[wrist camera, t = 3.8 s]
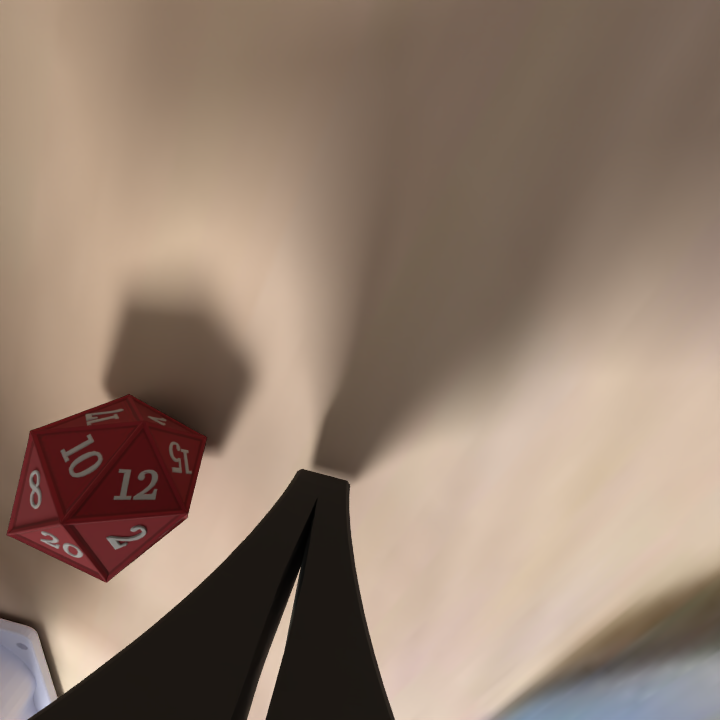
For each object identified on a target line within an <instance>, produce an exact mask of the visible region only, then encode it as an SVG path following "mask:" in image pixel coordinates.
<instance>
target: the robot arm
mask: <svg viewBox="0 0 720 720" xmlns="http://www.w3.org/2000/svg"><path fill="white" fill-rule="evenodd" d="M349 491H350V484H349V483H348V481H346V480H342V479H338V478H335V477H331V476H327V475H323V474H319V473H316V472H312V471H308V470H304V469H301V470H299V471H297V473H296V475H295V476H294V478H293V480H292V481H291V483H290V484H289V486H288V487H287V489H286V490H285V492H284V493H283V494H282V496H281V497H280V498H279V500H278V501H277V502H276V503H275V505H274V506H273V507H272V509H271V510H270V511H269V512H268V513H267V514H266V516H265V517H264V518H263V519H262V520H261V522H260V523H259V524H258V525H257V526H256V527H255V529H254V530H253V531H252V532H251V533H250V534H249V535H248V536H247V537H246V539H245V540H244V541H243V542H242V543H241V544H240V545H239V546H238V547H237V548H236V549H235V550H234V551H233V552H232V553H231V554H230V555H229V556H228V558H227V559H226V560H225V561H224V562H223V563H222V564H221V565H220V566H219V567H218V568H217V569H216V570H215V571H214V572H212V573H211V574H210V575H209V576H208V577H207V578H206V579H205V580H204V581H203V582H202V583H201V584H200V585H199V586H198V587H197V588H195V589H194V590H193V591H192V592H191V593H190V594H189V595H188V596H187V597H186V598H184V599H183V600H182V601H181V602H180V603H179V604H178V605H176V606H175V607H174V608H173V609H172V610H171V611H169V612H168V613H167V614H166V615H165V616H164V617H162V618H161V619H160V620H159V621H158V622H157V623H155V624H154V625H153V626H152V627H151V628H149V629H148V630H147V631H146V632H145V633H143V634H142V635H141V636H140V637H138V638H137V639H136V640H135V641H133V642H132V643H131V644H129V645H128V646H127V647H126V648H124V649H123V650H122V651H120V652H119V653H118V654H116V655H115V656H114V657H112V658H111V659H110V660H109V661H107V662H106V663H105V664H103V665H102V666H101V667H99V668H98V669H97V670H95V671H94V672H93V673H92V674H90V675H89V676H88V677H86V678H85V679H84V680H82V681H81V682H80V683H78V684H77V685H76V686H74V687H73V688H71V689H70V690H69V691H67V692H66V693H65V694H63V695H62V696H60V697H59V698H57V695H56V692H55V688H54V685H53V682H52V679H51V675H50V672H49V669H48V666H47V662H46V659H45V656H44V653H43V649H42V646H41V643H40V640H39V636H38V633H37V632H36V631H35V630H34V629H33V628H31V627H29V626H27V625H23V624H19V623H16V622H12V621H9V620H5V619H1V618H0V720H247V717H248V714H249V711H250V707H251V704H252V701H253V697H254V694H255V691H256V687H257V684H258V681H259V678H260V675H261V672H262V669H263V666H264V663H265V660H266V657H267V655H268V652H269V649H270V647H271V644H272V641H273V639H274V636H275V633H276V631H277V628H278V626H279V623H280V620H281V618H282V615H283V612H284V610H285V607H286V604H287V602H288V599H289V596H290V594H291V591H292V588H293V586H294V583H295V581H296V578H297V575H298V573H299V570H300V574H299V579H298V584H297V589H296V594H295V600H294V605H293V610H292V615H291V620H290V625H289V630H288V636H287V641H286V646H285V651H284V655H283V658H282V662H281V666H280V669H279V673H278V677H277V680H276V684H275V687H274V691H273V695H272V698H271V702H270V706H269V709H268V713H267V716H266V720H395V719H394V716H393V713H392V710H391V707H390V703H389V700H388V697H387V694H386V691H385V688H384V685H383V682H382V678H381V675H380V671H379V668H378V664H377V661H376V657H375V654H374V650H373V646H372V642H371V638H370V635H369V631H368V627H367V622H366V618H365V614H364V609H363V605H362V600H361V595H360V590H359V585H358V579H357V574H356V568H355V561H354V554H353V546H352V539H351V529H350V515H349ZM300 567H301V569H300Z"/></svg>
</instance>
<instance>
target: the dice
mask: <svg viewBox="0 0 720 720" xmlns="http://www.w3.org/2000/svg"><path fill="white" fill-rule="evenodd" d="M206 440H207V437H206V436H204V435H202V434H200V433H198V432H196V431H194V430H193V429H191V428H189V427H187V426H185V425H184V424H182V423H180V422H178V421H176V420H175V419H173V418H171V417H169V416H167V415H166V414H164V413H162V412H160V411H159V410H157V409H155V408H153V407H151V406H150V405H148V404H146V403H144V402H142V401H141V400H139V399H137V398H135V397H134V396H132V395H130V394H128V395H126V396H124V397H121V398H118V399H116V400H113V401H110V402H108V403H105V404H102V405H99V406H97V407H94V408H91V409H89V410H86V411H83V412H81V413H78V414H75V415H72V416H70V417H67V418H64V419H62V420H59V421H56V422H54V423H51V424H48V425H45V426H43V427H40V428H37V429H34V430H31V431H30V433H29V439H28V444H27V448H26V453H25V457H24V461H23V466H22V470H21V475H20V479H19V483H18V488H17V492H16V496H15V501H14V505H13V509H12V514H11V518H10V522H9V527H8V531H7V534H6V535H7V536H10V537H12V538H15V539H17V540H19V541H21V542H23V543H25V544H27V545H29V546H31V547H34V548H36V549H38V550H40V551H42V552H44V553H46V554H48V555H50V556H52V557H54V558H56V559H58V560H60V561H62V562H65V563H67V564H69V565H71V566H73V567H75V568H77V569H79V570H81V571H83V572H85V573H87V574H89V575H91V576H94V577H96V578H98V579H100V580H102V581H104V582H106V583H107V582H108V581H109V580H111V579H112V578H113V577H114V576H115V575H117V574H118V573H119V572H120V571H122V570H123V569H124V568H125V567H127V566H128V565H129V564H130V563H132V562H133V561H134V560H135V559H137V558H138V557H139V556H140V555H142V554H143V553H144V552H145V551H147V550H148V549H149V548H150V547H152V546H153V545H154V544H155V543H157V542H158V541H159V540H160V539H162V538H163V537H164V536H165V535H167V534H168V533H169V532H170V531H172V530H173V529H174V528H175V527H177V526H178V525H179V524H180V523H182V522H183V521H184V520H185V519H187V518H188V513H189V508H190V504H191V500H192V496H193V492H194V488H195V484H196V480H197V476H198V472H199V468H200V464H201V460H202V456H203V452H204V448H205V444H206Z"/></svg>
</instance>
